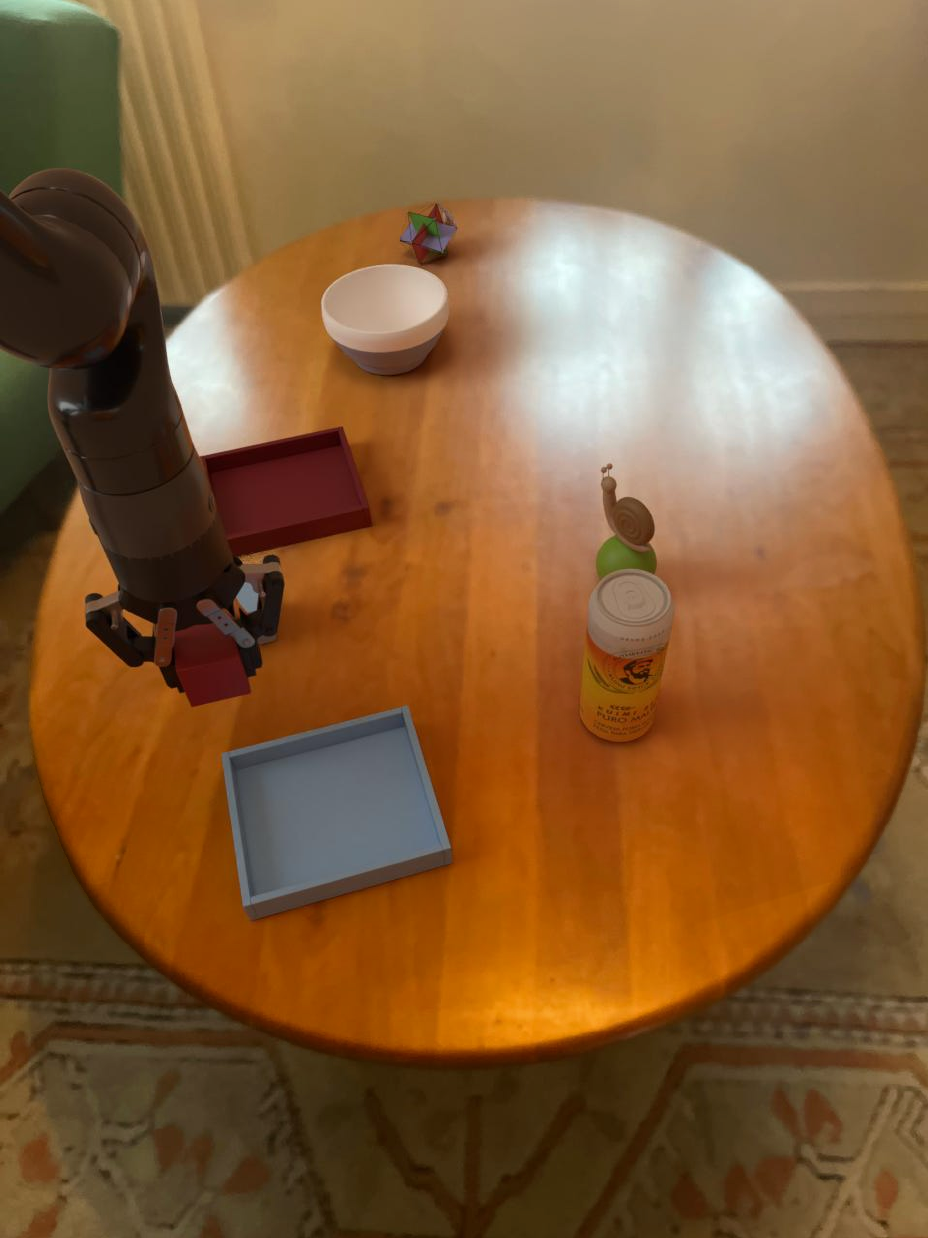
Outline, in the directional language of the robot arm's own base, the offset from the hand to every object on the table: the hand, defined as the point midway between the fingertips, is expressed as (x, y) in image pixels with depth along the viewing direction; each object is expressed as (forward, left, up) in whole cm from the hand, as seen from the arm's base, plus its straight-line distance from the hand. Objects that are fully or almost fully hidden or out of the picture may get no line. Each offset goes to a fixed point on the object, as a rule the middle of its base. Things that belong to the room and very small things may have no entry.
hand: (216, 675), depth 73 cm
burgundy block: (0, 0, 0) cm, 0 cm away
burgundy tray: (+8, +27, -8) cm, 30 cm away
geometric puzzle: (+34, +68, -8) cm, 77 cm away
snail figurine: (+36, +6, -8) cm, 38 cm away
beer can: (+30, -8, -8) cm, 32 cm away
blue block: (+2, +11, -8) cm, 14 cm away
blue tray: (+6, -10, -8) cm, 14 cm away
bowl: (+24, +48, -8) cm, 55 cm away
